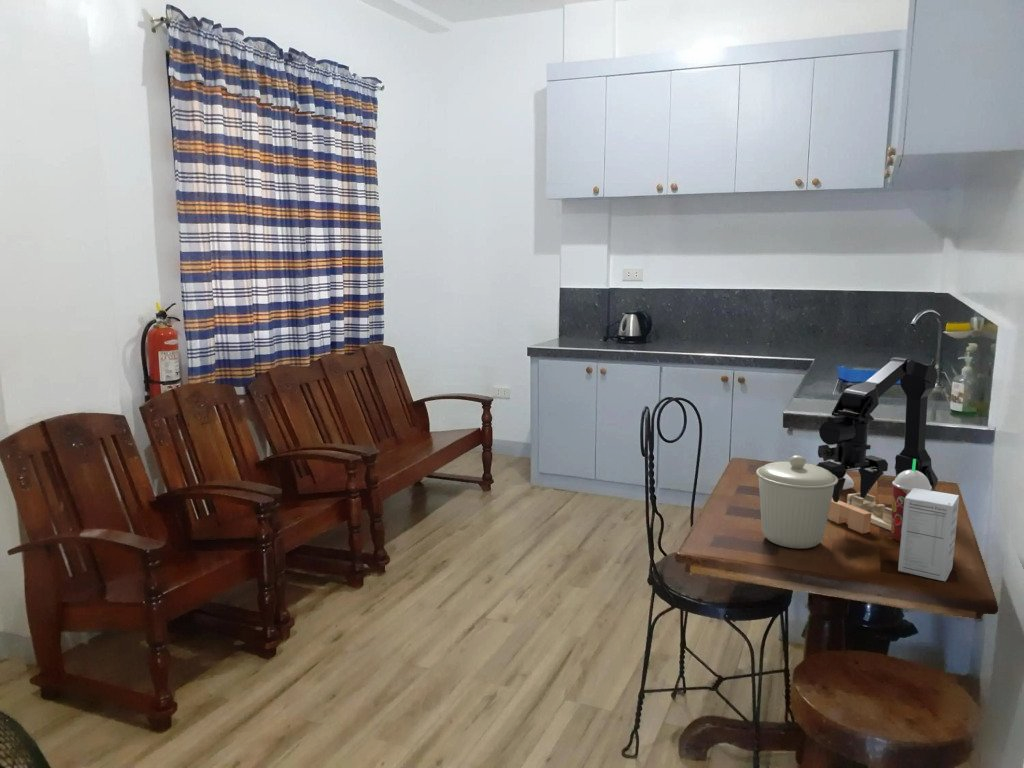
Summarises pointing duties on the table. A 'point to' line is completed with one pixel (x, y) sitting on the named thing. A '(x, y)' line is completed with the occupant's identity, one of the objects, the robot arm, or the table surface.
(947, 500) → the supplement box
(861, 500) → the display stand
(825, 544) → the table surface
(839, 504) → the tapered tan board
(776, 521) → the canister
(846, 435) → the robot arm
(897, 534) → the smoothie
